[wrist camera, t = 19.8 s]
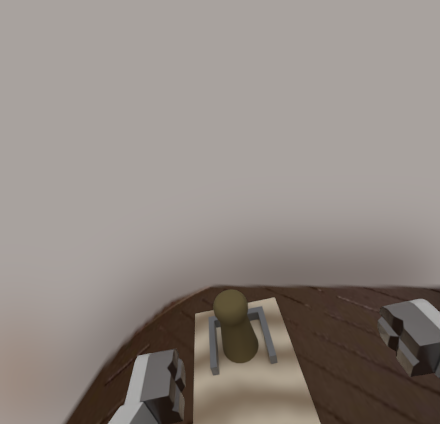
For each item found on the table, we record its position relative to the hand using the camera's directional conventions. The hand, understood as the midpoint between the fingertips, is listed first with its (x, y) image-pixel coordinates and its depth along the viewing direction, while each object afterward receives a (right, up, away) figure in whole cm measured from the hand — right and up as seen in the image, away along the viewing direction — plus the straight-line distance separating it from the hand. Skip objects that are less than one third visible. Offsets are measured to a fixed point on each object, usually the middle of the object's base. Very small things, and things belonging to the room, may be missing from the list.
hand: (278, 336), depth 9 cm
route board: (+2, -19, +29) cm, 34 cm away
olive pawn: (+1, -17, +30) cm, 35 cm away
